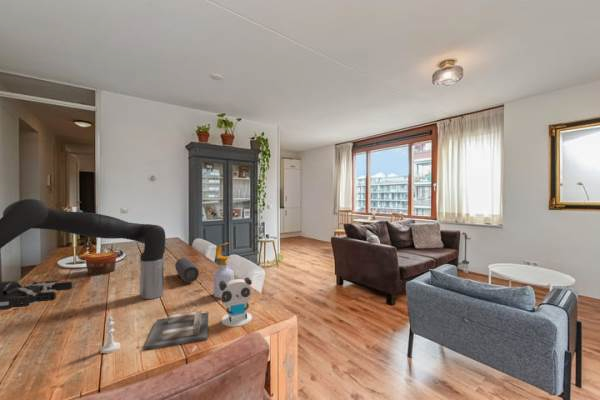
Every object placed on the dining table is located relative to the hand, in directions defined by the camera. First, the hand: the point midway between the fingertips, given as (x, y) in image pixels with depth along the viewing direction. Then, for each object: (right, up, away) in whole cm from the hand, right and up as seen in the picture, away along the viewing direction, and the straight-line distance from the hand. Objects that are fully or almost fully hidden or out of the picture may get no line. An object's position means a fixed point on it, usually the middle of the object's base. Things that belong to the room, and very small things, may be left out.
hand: (63, 290), depth 75 cm
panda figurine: (+45, -19, +23) cm, 54 cm away
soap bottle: (+33, -19, +47) cm, 60 cm away
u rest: (+27, -19, +15) cm, 36 cm away
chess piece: (+11, -20, +4) cm, 23 cm away
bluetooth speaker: (+5, -18, +69) cm, 72 cm away
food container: (-52, -18, +81) cm, 98 cm away
